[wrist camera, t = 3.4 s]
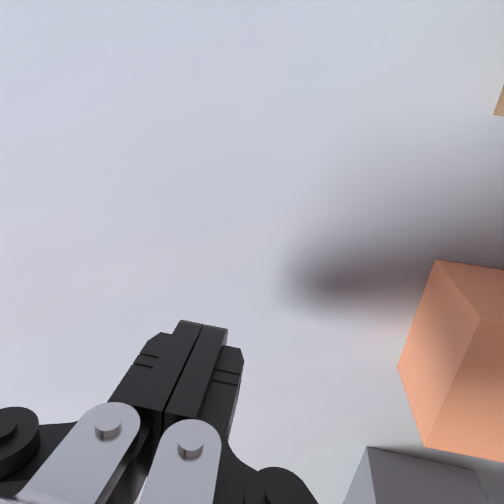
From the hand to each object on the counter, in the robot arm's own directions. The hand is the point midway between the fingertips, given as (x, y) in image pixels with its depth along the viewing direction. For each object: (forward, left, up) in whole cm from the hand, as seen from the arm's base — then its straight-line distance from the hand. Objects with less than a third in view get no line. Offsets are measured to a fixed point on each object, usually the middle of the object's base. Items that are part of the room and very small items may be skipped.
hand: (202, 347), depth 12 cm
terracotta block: (0, +10, -4) cm, 11 cm away
